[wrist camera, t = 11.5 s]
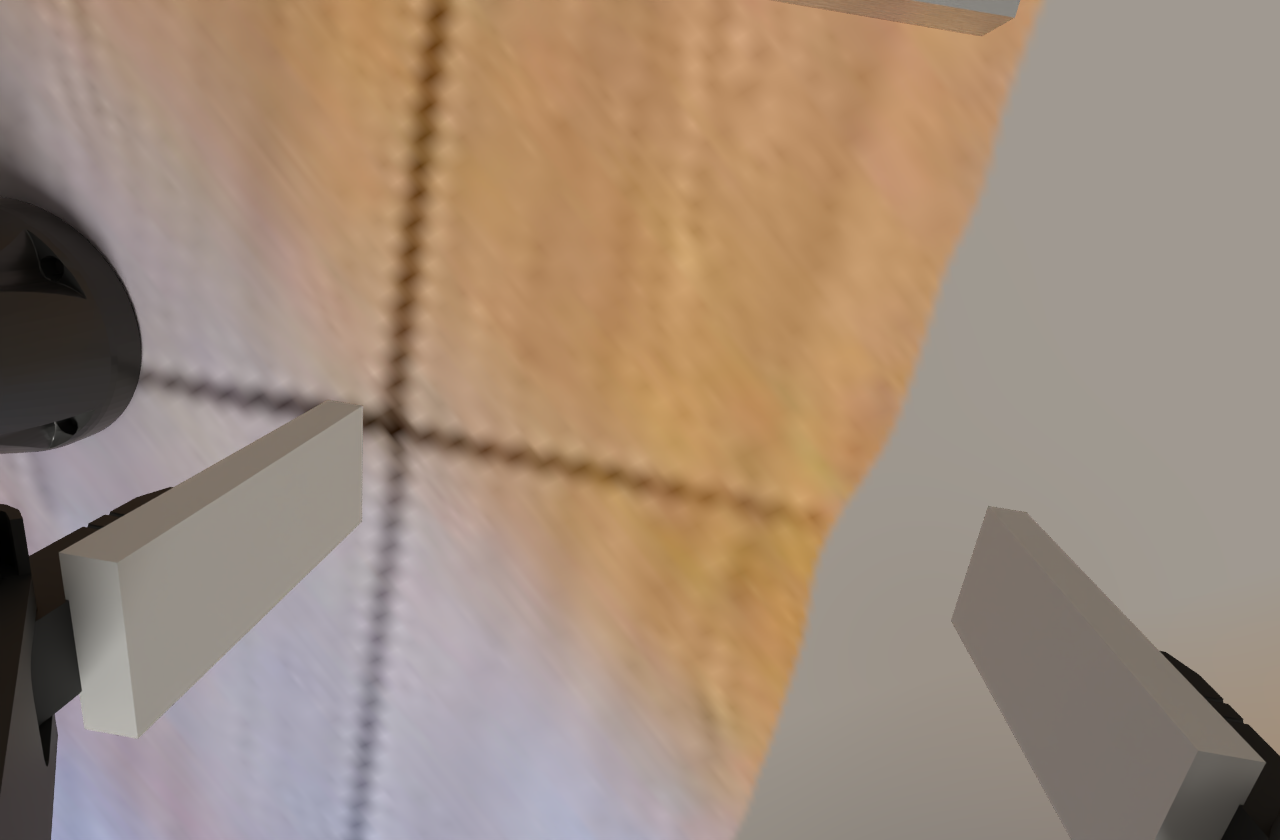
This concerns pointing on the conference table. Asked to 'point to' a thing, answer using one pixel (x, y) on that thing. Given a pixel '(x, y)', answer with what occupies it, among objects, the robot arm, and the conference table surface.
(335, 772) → the conference table surface
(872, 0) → the dock
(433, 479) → the conference table surface
